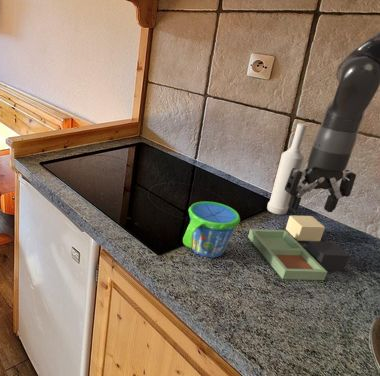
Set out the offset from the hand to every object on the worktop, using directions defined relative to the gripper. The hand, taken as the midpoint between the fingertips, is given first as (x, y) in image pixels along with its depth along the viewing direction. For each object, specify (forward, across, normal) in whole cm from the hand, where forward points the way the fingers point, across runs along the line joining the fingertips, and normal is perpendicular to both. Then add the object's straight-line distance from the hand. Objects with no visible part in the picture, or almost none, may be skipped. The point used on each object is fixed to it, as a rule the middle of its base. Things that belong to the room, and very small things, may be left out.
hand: (310, 210), depth 99 cm
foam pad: (+7, 0, 0) cm, 7 cm away
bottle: (+7, 0, +13) cm, 15 cm away
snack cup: (+8, -27, -8) cm, 29 cm away
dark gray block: (+7, -2, -12) cm, 14 cm away
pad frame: (+7, -10, -10) cm, 16 cm away
